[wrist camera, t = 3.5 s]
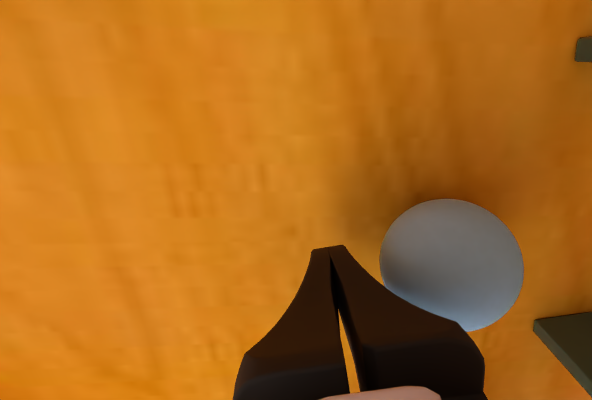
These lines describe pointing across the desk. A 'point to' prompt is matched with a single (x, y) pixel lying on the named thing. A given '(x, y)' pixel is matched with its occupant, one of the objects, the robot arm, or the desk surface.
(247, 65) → the desk surface
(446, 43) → the desk surface
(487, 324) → the ball
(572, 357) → the box
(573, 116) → the desk surface
